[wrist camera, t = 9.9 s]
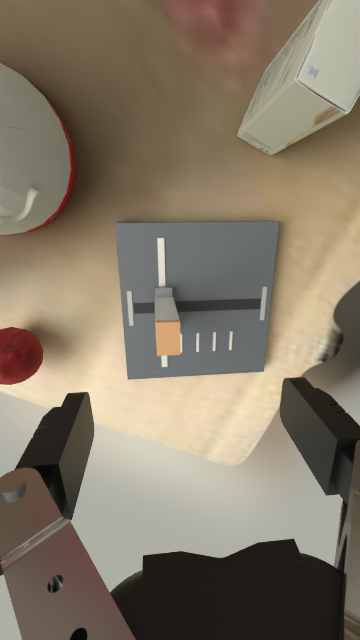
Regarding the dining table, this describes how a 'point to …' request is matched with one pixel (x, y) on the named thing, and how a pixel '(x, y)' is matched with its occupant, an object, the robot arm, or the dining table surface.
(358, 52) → the skincare box
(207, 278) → the console
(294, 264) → the dining table surface
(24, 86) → the kitchen timer
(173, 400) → the dining table surface
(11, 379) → the onion
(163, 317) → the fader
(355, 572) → the robot arm
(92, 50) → the dining table surface
